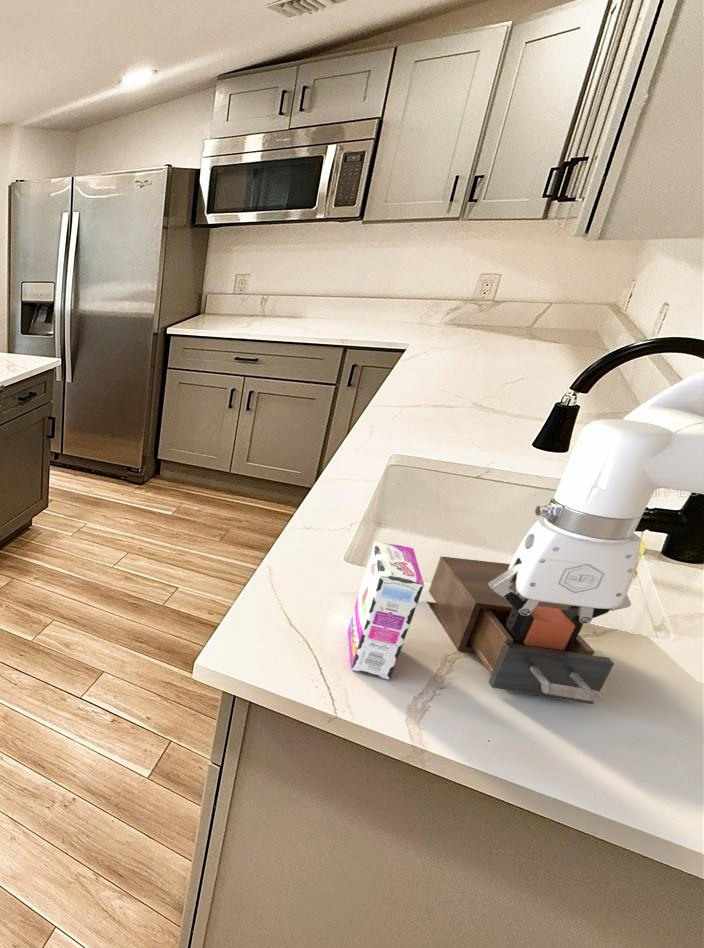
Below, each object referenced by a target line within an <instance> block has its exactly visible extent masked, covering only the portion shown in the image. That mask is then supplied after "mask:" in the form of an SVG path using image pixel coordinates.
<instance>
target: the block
mask: <svg viewBox="0 0 704 948" xmlns="http://www.w3.org/2000/svg"><path fill="white" fill-rule="evenodd" d="M530 615H531V616H532V617H533V621H532V624H531V626H530V628H529V630H528V633H527V635H526V637H525V640H523V642H524V644H525V645H531V646H538V647H544V648H551V649H558V650H564V649H565V647H566V645H567V643H568V641H569V638H570V636H571V634H572V632H573V630H574V628H575V625H574V624H573V623H572V622H571V621H570V620H569V619H568V618H567V617H566V616H565V614H564V613H563V612H562V611H561V610H560V609H557V608H550V607H542V606H536V607H535V609H534V610H533V611H532V613H531V614H530Z"/></svg>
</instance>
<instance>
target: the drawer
mask: <svg viewBox="0 0 704 948" xmlns="http://www.w3.org/2000/svg"><path fill="white" fill-rule="evenodd" d="M510 613H511V612H508V611H500V610H492V609H485V608H481V609H480V611H479V614H478V616H477V619H476V622H475V624H474V627H473V629H472V632H471V634H470V637H469V640H468V641H469V643H470V644H471V646H472V647H473V649H474V650H475V652H476V653H475V654H476V655H477V657H478V658H479V659H480V661H481V662H482V664H483V665H484V667H485V668H486V669H487V671H488V673H489V674H490V677H489V680H488V684H489V685H490V687H491V688H492V689H497V690H503V691H510V692H515V693H521V694H526V695H527V694H528V695H533V696H540V697H546V698H552V699H558V700H562V701H563V700H564V701H569V702H575V703H576V702H577V703H580V704H581V703H582V704H587V705H594V704H595V703H599V702H600V700H601V693H600V692H601V690H602V688H603V686H604V684H605V682H606V680H607V678H608V677H609V675H610V673H611V671H612V669H613V667H614V665H615V662H613V660H612V659H611V658H609V657H605V656H600V655H599V656H598V655H594V654H595V650H594V649H593V648H592V647H591V646H590V644H589V643H588V642H587V641H585V639H584V638H583V637H582V636H581V635H580V633H579V634H578V636H577V638H576V639H575V640H573V642H572V644H571V646H570V647H569V648H567V647H565V649H564V650H558V649H551V648H544V647H538V646H531V645H525V644H524V642H523V641H518V640H516V638H515V637H514V636H513V635H512V633H511V632H510V631H509V630H508V628H507V626H506V623H507V620H508V618H509V615H510Z"/></svg>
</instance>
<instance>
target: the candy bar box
mask: <svg viewBox="0 0 704 948" xmlns="http://www.w3.org/2000/svg"><path fill="white" fill-rule="evenodd" d="M424 586H425V583H424V579H423V577H422V574H421V571H420V566H419V564H418V559H417V556H416V553H415V550H414V548H413V547H410V546H404V545H399V544H394V543H393V544H392V543H385V542H380V541H374V542H373V547H372V549H371V551H370V556H369V559H368V563H367V565H366V568H365V572H364V575H363V579H362V582H361V585H360V589H359V592H358V595H357V598H356V602H355V605H354V609H353V611H352V615H351V619H350V622H349V626H348V629H347V633H348V644H349V645H348V646H349V658H350V669H351V671H352V672H356V673H360V674H363V675H367V676H371V677H374V678H375V677H376V678H378V679H382V680H387V681H391V680H392V676H393V674H394V671H395V668H396V665H397V662H398V659H399V657H400V653H401V651H402V648H403V646H404V643H405V639H406V637H407V634H408V631H409V629H410V626H411V623H412V621H413V618H414V614H415V612H416V608H417V605H418V603H419V600H420V598H421V594H422V592H423V589H424Z"/></svg>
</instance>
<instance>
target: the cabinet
mask: <svg viewBox="0 0 704 948" xmlns="http://www.w3.org/2000/svg"><path fill="white" fill-rule="evenodd" d="M510 564H511V563H507V562H506V563H505V562H496V561H485V560H477V559H469V558H459V557H451V556H439V560H438V563H437V566H436V569H435V572H434V575H433V577H432V581H431V583H430V586H429V588H428V593H429V594H430V596H431V597H432V598H433V600H434V602H433V601H426V603H427V605H428V606H429V608H430V610H431V611H432V613H433V614H434V615H435V617H436V619H437V620H438V622H439V623H440V625H441V626H442V629H444V631H445V633H446V634H447V636H448V637H449V639H450V640H451V642H452V645H454V647H455V649H456V650H457V651H460V652H461V651H462V652H467V653H474V654H477V653H476V652H475V650H474V649H473V647H472V646H471V644H470V643H469V641H468V640H469V637H470V634H471V632H472V629H473V627H474V624H475V622H476V619H477V616H478V614H479V611H480V609H481V608H485V609H492V610H500V611H508V612H511V611H512V608H513V606H512V605H511V604H510V603H509V601H508V600H507V599H505V598H504V597H502V596H500V595H499V594H497V593H496V592H494V591H493V590H492V589H491V587H490V586H489V585H488V583H489V582H490V581H492V580H493V579H495V578H496V577H498V576H500V575H501V574H503V573H504V572H506V571H507V570H508V569H509V566H510ZM509 588H510V589H512V590H513V591H514V592H515V593H516V591H517V590H516V584H513V585H511V586H510V587H509ZM537 606H542V607H550V608H557V609H560V610H561V611H562V610H568V605H564V604H557V603H549V602H542V601H540V602H539V604H538V605H537Z"/></svg>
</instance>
